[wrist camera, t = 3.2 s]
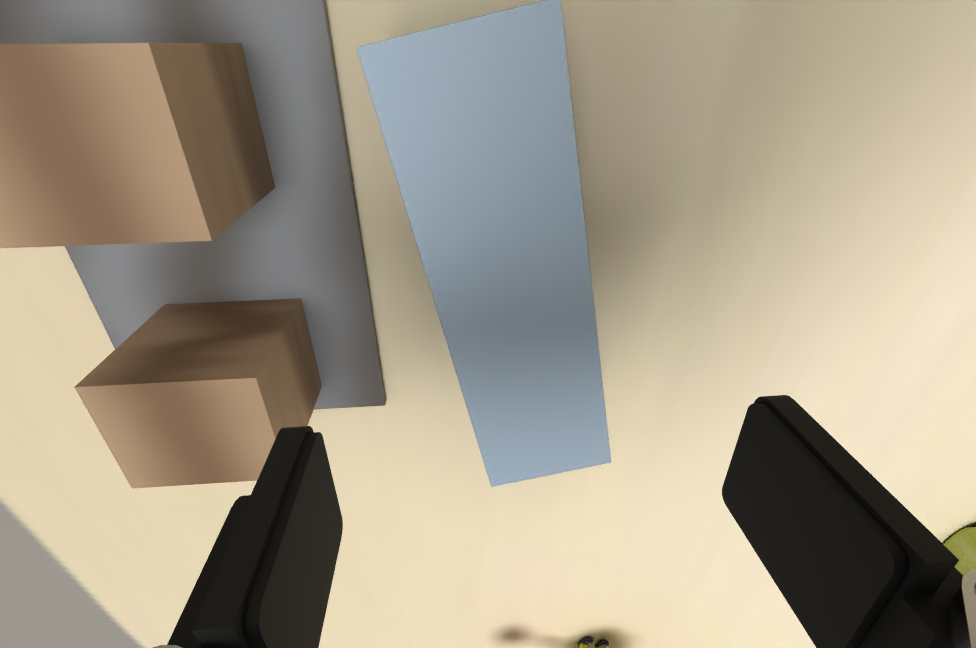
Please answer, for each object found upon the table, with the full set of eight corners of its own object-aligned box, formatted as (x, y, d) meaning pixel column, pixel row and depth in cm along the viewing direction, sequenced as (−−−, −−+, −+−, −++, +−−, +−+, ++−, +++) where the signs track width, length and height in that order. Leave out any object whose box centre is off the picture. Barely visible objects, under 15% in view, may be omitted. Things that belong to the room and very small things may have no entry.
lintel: (520, 13, 17) (559, -4, 11) (572, 363, 25) (611, 462, 19) (387, 46, 17) (355, 47, 11) (481, 382, 26) (491, 486, 20)
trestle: (323, -9, 16) (260, -36, 11) (385, 400, 25) (369, 498, 20) (-49, -7, 16) (-317, -34, 10) (153, 413, 25) (69, 518, 19)
